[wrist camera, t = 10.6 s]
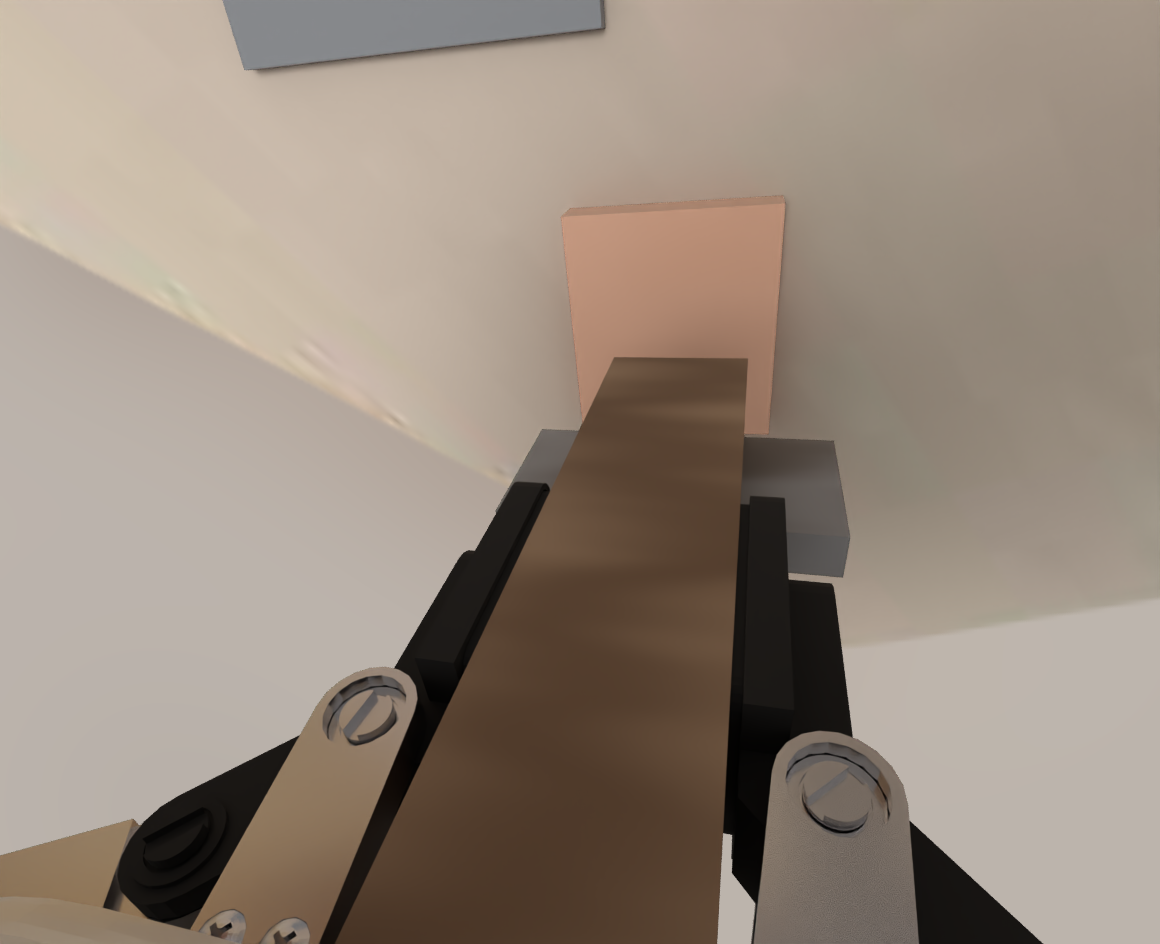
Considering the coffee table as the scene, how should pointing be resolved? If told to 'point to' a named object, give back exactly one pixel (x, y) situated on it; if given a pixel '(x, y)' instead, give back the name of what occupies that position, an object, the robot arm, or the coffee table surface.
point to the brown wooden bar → (603, 682)
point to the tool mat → (392, 26)
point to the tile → (677, 288)
